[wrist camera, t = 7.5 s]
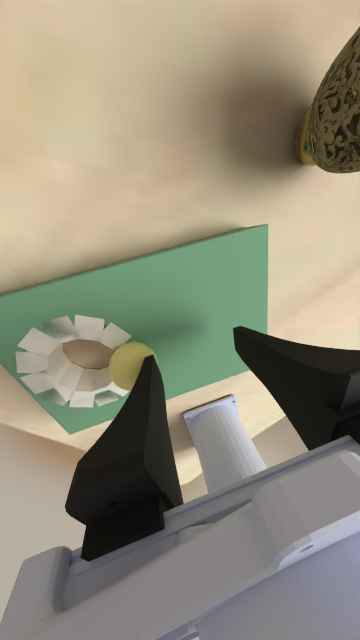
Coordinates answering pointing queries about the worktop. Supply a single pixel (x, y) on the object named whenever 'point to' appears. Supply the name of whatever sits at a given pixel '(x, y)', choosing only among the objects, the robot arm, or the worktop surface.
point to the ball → (128, 364)
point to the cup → (334, 116)
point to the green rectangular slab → (138, 322)
